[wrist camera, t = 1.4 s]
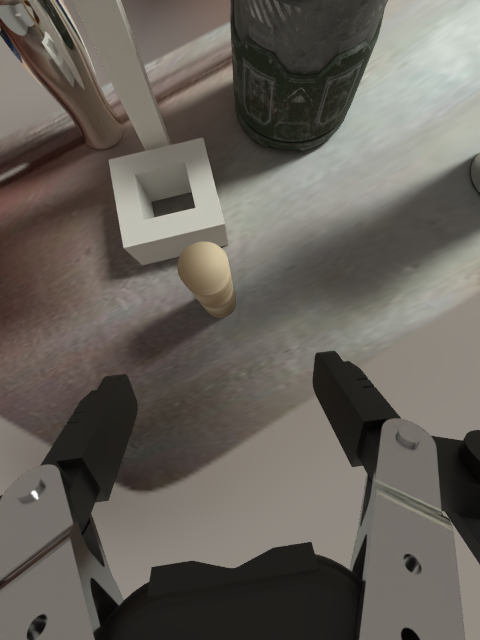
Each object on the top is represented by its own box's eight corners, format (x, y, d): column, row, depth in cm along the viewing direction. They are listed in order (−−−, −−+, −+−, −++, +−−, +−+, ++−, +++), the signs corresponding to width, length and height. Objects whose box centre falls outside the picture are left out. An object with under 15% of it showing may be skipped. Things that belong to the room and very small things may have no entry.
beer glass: (76, 153, 35) (-48, 2, 20) (82, 112, 36) (-31, -60, 21) (124, 152, 35) (34, -1, 20) (129, 111, 36) (46, -63, 21)
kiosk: (133, 267, 32) (-378, -149, 6) (115, 166, 35) (-294, -437, 8) (237, 242, 32) (193, -275, 6) (212, 143, 35) (103, -520, 9)
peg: (228, 281, 31) (216, 233, 19) (240, 309, 31) (236, 277, 19) (199, 294, 31) (169, 253, 19) (211, 322, 30) (188, 298, 19)
